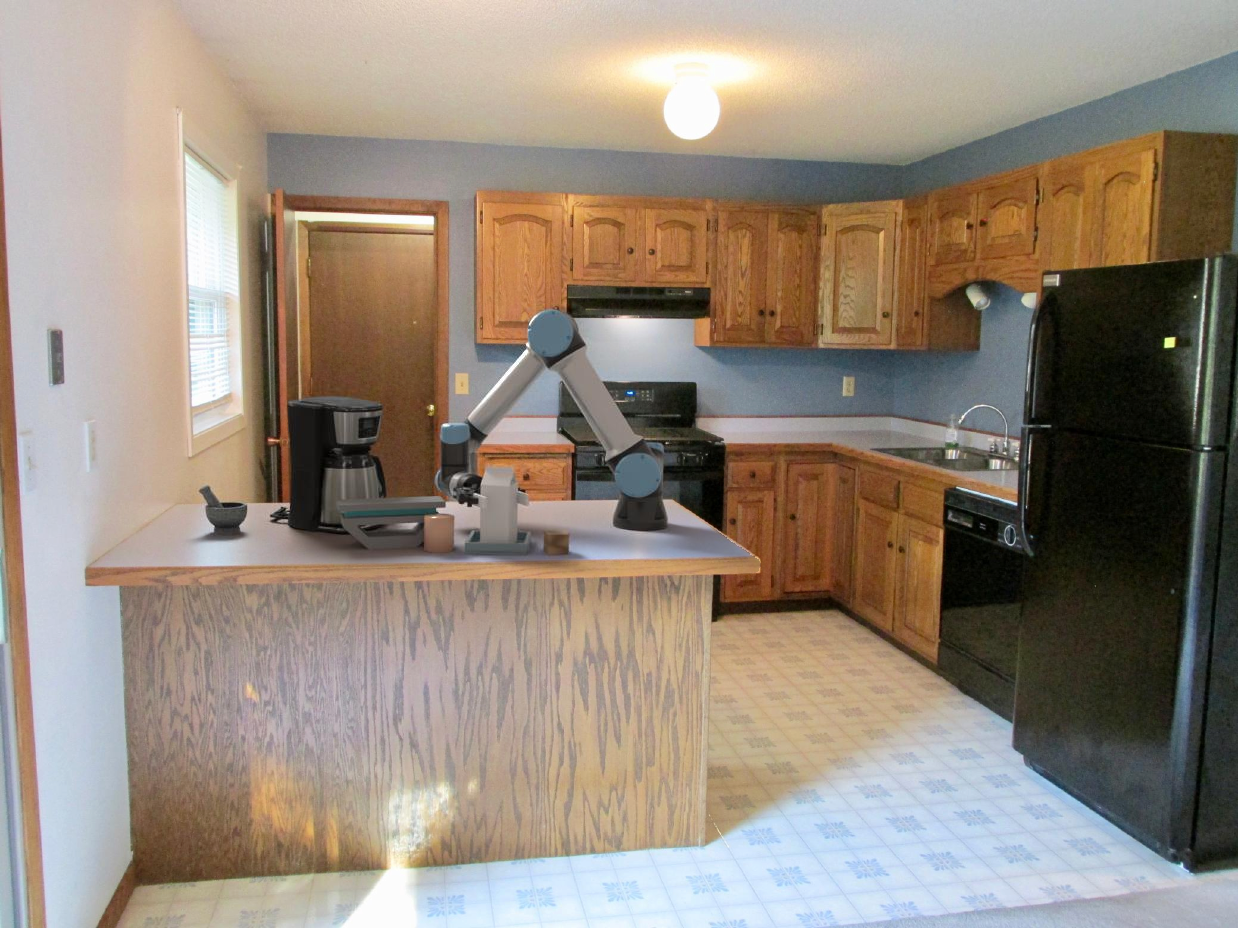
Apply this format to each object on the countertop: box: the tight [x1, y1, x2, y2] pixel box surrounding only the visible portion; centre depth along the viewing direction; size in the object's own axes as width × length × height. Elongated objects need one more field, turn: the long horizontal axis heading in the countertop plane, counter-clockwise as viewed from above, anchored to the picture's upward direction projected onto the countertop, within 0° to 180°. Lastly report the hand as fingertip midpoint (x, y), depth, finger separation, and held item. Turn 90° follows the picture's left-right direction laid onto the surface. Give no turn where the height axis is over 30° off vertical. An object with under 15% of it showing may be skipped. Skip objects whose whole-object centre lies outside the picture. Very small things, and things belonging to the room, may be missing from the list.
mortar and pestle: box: [198, 484, 248, 535], centre depth 248 cm, size 11×9×12 cm
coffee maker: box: [269, 395, 387, 535], centre depth 259 cm, size 23×32×34 cm
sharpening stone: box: [336, 495, 447, 550], centre depth 239 cm, size 25×8×11 cm, turn 111°
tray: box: [464, 530, 532, 556], centre depth 239 cm, size 15×15×3 cm
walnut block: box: [543, 529, 570, 556], centre depth 235 cm, size 5×5×5 cm
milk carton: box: [479, 465, 519, 543], centre depth 238 cm, size 7×7×19 cm
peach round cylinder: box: [423, 512, 455, 554], centre depth 235 cm, size 7×7×8 cm
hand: (506, 501), depth 234 cm, fingers open, 10 cm apart
